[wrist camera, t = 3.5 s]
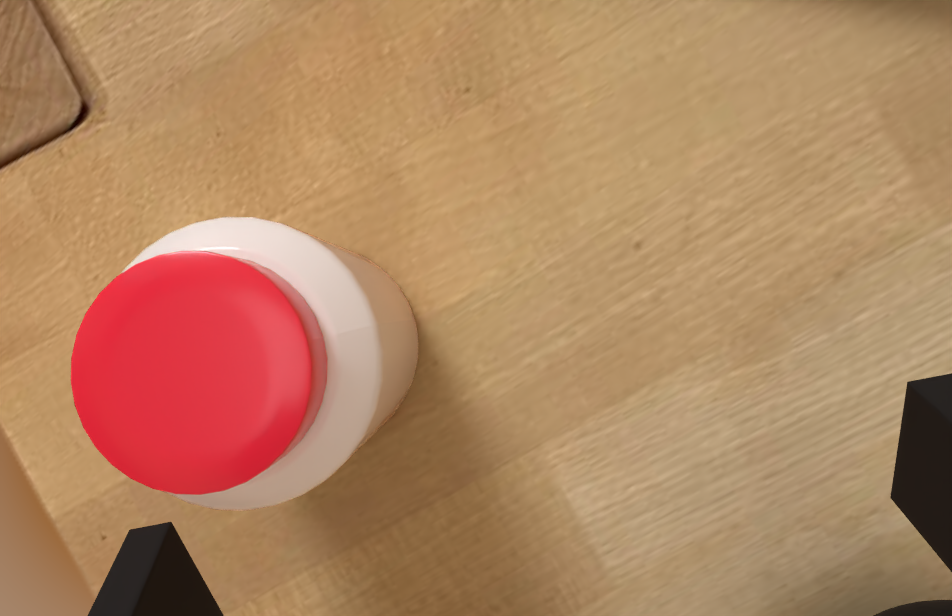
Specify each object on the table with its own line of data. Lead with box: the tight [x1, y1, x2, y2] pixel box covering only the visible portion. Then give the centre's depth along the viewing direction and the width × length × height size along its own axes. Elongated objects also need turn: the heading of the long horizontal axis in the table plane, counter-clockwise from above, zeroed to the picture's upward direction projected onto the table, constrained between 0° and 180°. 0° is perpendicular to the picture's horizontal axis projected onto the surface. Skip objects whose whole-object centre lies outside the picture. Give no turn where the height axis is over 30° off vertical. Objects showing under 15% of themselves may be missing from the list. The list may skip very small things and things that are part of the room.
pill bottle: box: [71, 217, 418, 511], centre depth 21 cm, size 8×8×11 cm
